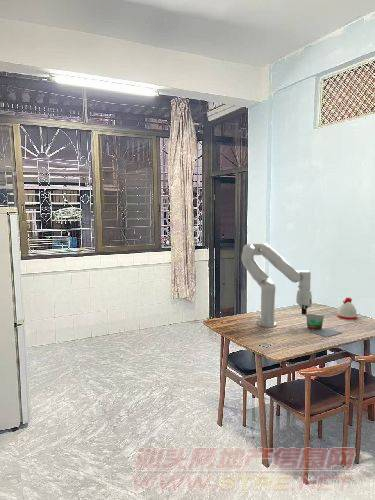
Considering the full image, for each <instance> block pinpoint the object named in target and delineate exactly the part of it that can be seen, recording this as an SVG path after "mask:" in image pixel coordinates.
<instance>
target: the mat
mask: <svg viewBox="0 0 375 500" xmlns="http://www.w3.org/2000/svg"><path fill="white" fill-rule="evenodd" d="M310 333H312V334H315V335H318V336H321V337H324V338H326V339H327V338H329V337H332V336H336V335H339V334H342V333H343V332H342V331H338V330H335V329H331V328H329V327H324V328H323V327H322V329H319V330H312V331H310Z"/></svg>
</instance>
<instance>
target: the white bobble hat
mask: <svg viewBox="0 0 375 500" xmlns="http://www.w3.org/2000/svg"><path fill="white" fill-rule="evenodd" d="M352 301H353V298H352V297H345V299H344V300H343V302H342V303H341V304H339V305H340V306H338V308H337V312H336V317H337V318H339V319H343V320H356V319H357V318H358V314H357V310H356V308H355V306H354V304H353V303H352Z"/></svg>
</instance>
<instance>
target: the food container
mask: <svg viewBox="0 0 375 500" xmlns="http://www.w3.org/2000/svg"><path fill="white" fill-rule="evenodd" d="M304 316H305V318H306V326H307V329H308V330H312V331H316V330H319V329H323V323H324V319H325V314H321V315H320V314H314V313H313V314H310V313H306V314H305V315H304Z"/></svg>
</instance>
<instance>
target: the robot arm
mask: <svg viewBox="0 0 375 500" xmlns="http://www.w3.org/2000/svg"><path fill="white" fill-rule="evenodd" d="M242 247H243V248H242V253H241V258H240V259H241V263H242V264H243V266H244V268H245V269H246V270H247V272H248V273H249V274H250V277H251V278H252V280H254V281H255V282H256V284H257V285H258V286H259V287H260V289H261V290H260V292H261V293H260V296H261V297H260V315H258V317H257V320H259V321H258V325H259V326H261V327H263V328H264V327H265V328H266V327H267V328H274V327H276V326H277V322H276V321H275V317H276V316H275V315H276V314H275V313H276V311H275V310H276V308H275V307H276V304H275V303H276V302H275V301H276V291H277V290H276V285H275V282H274V281H273V280H272V279H271V277H270V276H269V275H268V274H267V272H266V271H265V270H264V268H262V267H260V265H259V264H258V262H257V261H256V259H255V257H254V256H262V257H263V258H264V259H266V260H267V261H268V263H270V265H272V266H273V267H274V268H275V269H276V270H278V271H280V272H281V274H283V275H284V277H286V278H287V279H288V280H289V281H290V282H292V283H295V284H296V283H298V286H297V287H298V290H297V293H296V301H295V302H296V304H297V305H298V306H299V307H300V310H301V315H304V316H305V315H306V313H307V311H308V308H311V307H312V303H313V302H312V301H313V298H312V297H313V296H312V291H311V274H312V273H311V271H310V270H298V269H297V270H296V269H295V268H294V267H293V266H292V265H290V263H288V262H287V260H286V259H285V258H284V257H283V256H282V255H281V254H280V253H278V252H277V251H276V250H275V249H274V248H273V247H271V245H270V244H268V243H247V244H245V245H243V246H242ZM307 314H308V313H307Z"/></svg>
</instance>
